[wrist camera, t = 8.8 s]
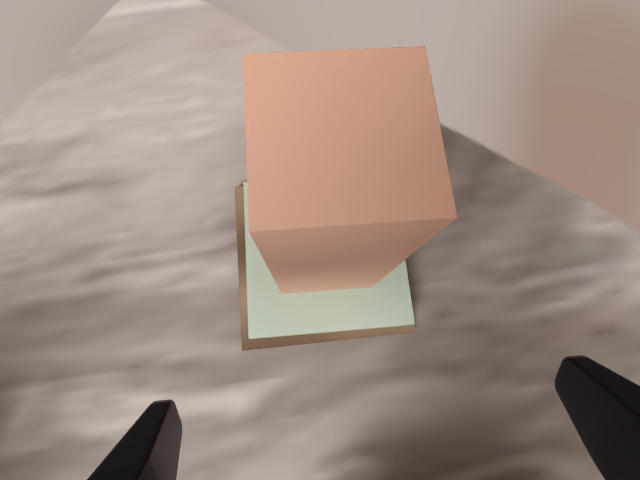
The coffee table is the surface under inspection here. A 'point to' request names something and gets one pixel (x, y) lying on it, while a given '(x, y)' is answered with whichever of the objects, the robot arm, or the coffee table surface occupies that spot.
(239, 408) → the coffee table surface
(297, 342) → the tower base slab
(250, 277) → the tower top slab
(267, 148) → the tall block
